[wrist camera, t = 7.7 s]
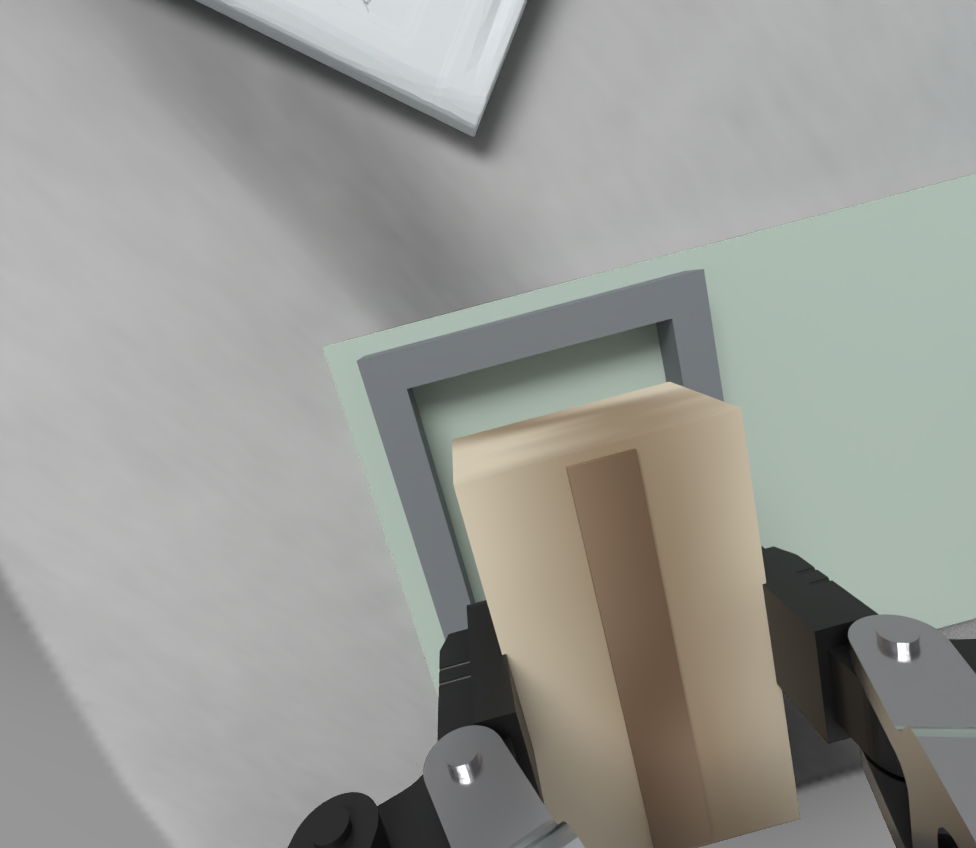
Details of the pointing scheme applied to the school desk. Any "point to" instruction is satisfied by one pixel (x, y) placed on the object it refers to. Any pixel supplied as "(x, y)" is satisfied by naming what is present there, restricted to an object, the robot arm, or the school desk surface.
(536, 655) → the beige grooved block
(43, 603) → the school desk surface
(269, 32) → the external hard drive
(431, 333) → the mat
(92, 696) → the school desk surface
